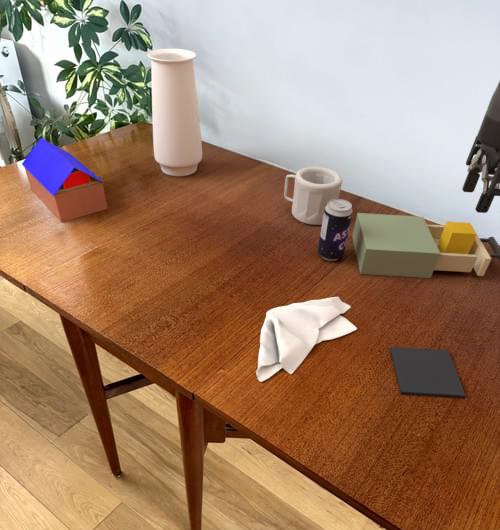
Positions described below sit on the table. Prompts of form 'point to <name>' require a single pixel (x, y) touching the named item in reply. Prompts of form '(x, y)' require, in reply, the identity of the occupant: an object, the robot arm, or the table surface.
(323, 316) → the cloth
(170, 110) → the vase
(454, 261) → the drawer
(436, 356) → the mat
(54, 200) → the house
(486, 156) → the robot arm
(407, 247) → the cabinet
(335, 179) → the mug
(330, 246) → the beverage can
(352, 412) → the table surface
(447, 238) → the yellow block
